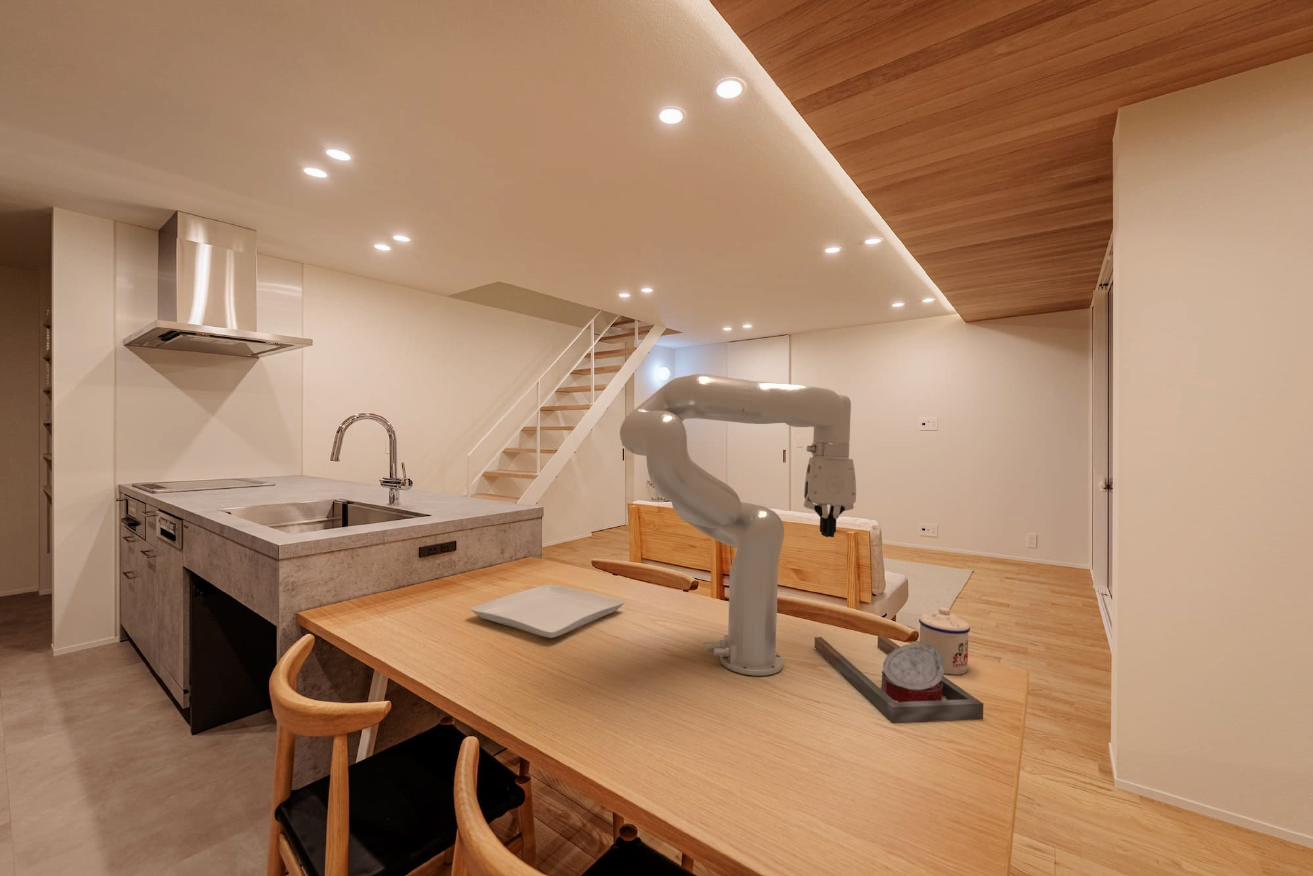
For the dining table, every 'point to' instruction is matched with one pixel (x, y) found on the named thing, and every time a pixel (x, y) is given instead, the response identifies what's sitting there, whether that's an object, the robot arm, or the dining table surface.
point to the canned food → (913, 673)
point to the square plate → (548, 609)
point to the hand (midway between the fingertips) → (827, 535)
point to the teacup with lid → (946, 639)
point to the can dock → (916, 711)
